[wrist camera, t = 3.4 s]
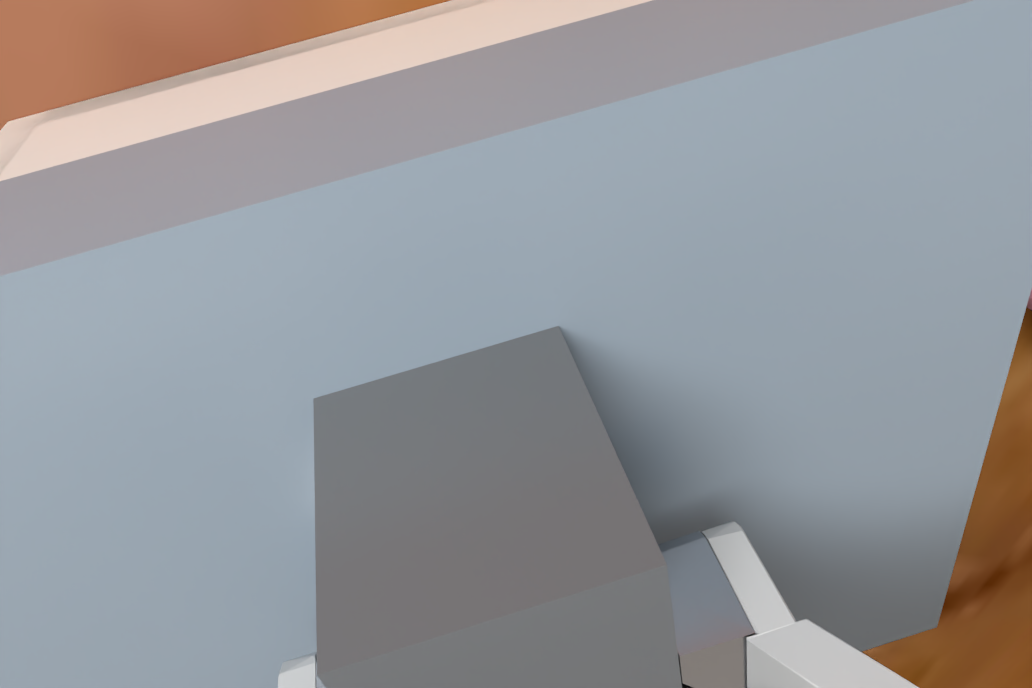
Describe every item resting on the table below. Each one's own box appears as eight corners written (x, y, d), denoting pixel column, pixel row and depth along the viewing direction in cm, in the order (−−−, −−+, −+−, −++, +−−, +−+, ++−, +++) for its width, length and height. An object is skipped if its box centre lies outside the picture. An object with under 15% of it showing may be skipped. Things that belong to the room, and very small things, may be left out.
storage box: (688, -65, 16) (943, 47, 9) (708, 344, 22) (863, 567, 16) (8, 121, 15) (-205, 375, 9) (242, 485, 22) (217, 773, 16)
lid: (950, -83, 10) (1559, 59, 5) (863, 526, 18) (1067, 804, 13) (-290, 261, 9) (-949, 810, 4) (199, 737, 17) (158, 1114, 12)
